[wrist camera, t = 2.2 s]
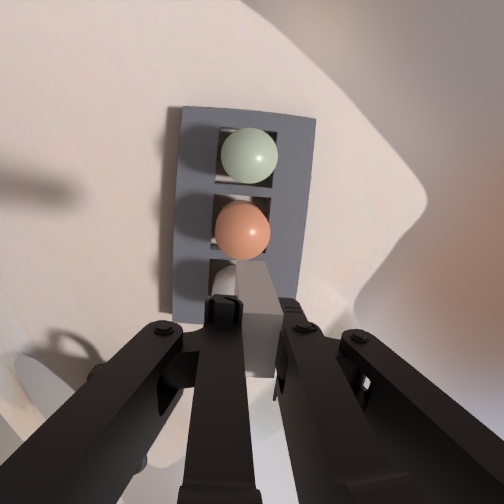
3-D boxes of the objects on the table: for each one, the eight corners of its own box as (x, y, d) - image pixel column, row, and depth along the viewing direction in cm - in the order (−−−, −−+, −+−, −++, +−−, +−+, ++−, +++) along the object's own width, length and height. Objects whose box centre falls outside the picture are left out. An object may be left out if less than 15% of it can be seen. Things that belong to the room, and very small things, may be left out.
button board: (174, 314, 38) (172, 322, 36) (185, 109, 32) (182, 106, 30) (288, 320, 40) (291, 328, 38) (311, 121, 34) (316, 118, 32)
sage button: (219, 179, 33) (218, 181, 28) (223, 131, 31) (223, 125, 27) (268, 183, 33) (275, 185, 28) (272, 135, 32) (280, 130, 27)
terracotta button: (214, 245, 34) (213, 258, 30) (218, 198, 33) (216, 203, 28) (261, 248, 35) (267, 261, 30) (266, 202, 34) (272, 207, 29)
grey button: (211, 305, 36) (209, 325, 31) (213, 263, 35) (212, 278, 30) (255, 307, 37) (260, 328, 32) (259, 266, 35) (265, 281, 31)
